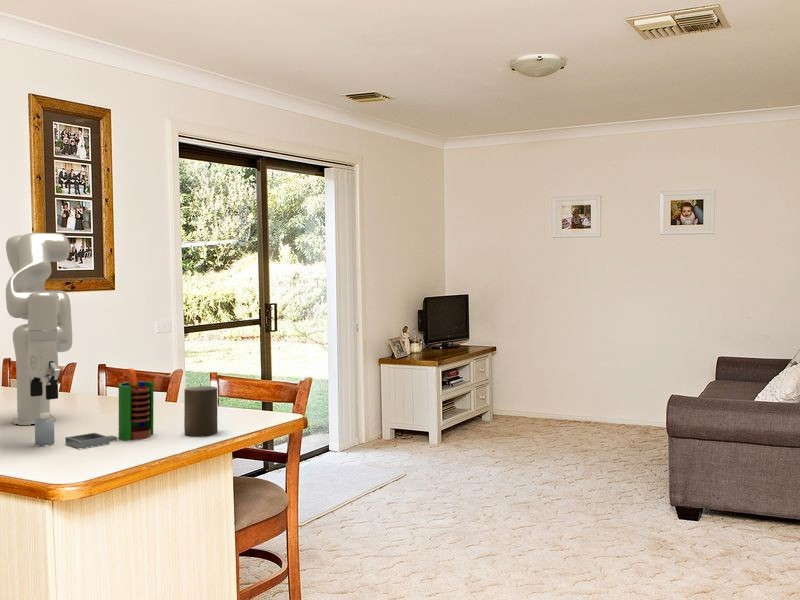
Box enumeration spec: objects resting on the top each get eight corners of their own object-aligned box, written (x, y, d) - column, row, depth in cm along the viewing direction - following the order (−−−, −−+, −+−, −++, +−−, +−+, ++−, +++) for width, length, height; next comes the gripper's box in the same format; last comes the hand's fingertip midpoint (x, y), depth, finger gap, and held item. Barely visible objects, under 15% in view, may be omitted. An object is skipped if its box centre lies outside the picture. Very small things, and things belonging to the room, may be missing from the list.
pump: (32, 444, 223) (31, 413, 222) (49, 441, 227) (49, 410, 226) (39, 447, 219) (39, 415, 219) (57, 444, 223) (57, 413, 223)
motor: (139, 441, 227) (139, 371, 226) (111, 439, 229) (110, 370, 228) (157, 434, 237) (156, 367, 236) (130, 432, 239) (129, 366, 238)
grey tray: (65, 444, 223) (65, 437, 223) (106, 437, 232) (106, 430, 232) (80, 449, 217) (79, 441, 217) (121, 441, 226) (121, 434, 226)
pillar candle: (209, 437, 232) (209, 386, 232) (178, 435, 234) (178, 385, 233) (222, 431, 242) (222, 382, 241) (192, 429, 243) (192, 381, 243)
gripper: (16, 336, 225) (17, 396, 225) (43, 338, 213) (44, 402, 213) (42, 334, 230) (43, 393, 231) (70, 336, 219) (71, 398, 219)
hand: (44, 397), depth 222 cm, fingers open, 9 cm apart
